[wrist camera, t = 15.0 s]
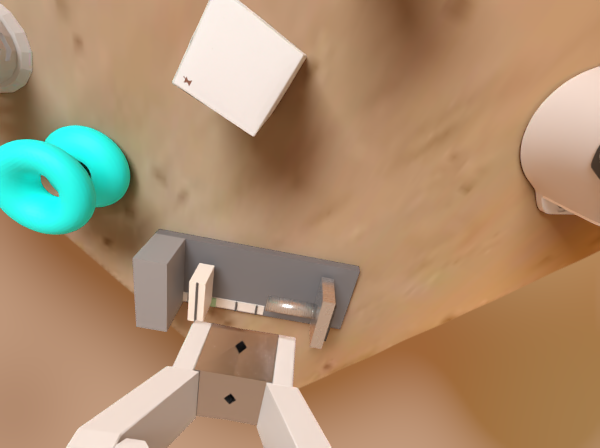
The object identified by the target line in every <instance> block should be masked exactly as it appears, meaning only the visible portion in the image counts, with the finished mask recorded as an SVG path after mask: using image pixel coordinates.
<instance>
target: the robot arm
mask: <svg viewBox="0 0 600 448" xmlns="http://www.w3.org/2000/svg"><path fill="white" fill-rule="evenodd" d="M521 165H522V169H523V171H524V174H525V176H526V177H527V179H528V180H529V182H530V183H531V184H532V186H533V187H534V189H535V191H536V202H537V206H538V208H539V210H540V211H542V212H545V213H547V214H569V215H577V216H579V217H581V218H583V219H585V220H587V221H589V222H591V223H593V224H595V225H598V226H600V66H598V67H596V68H593V69H591V70H588V71H585V72H583V73H581V74H579V75H577V76H575V77H574V78H572V79H570V80H569V81H567V82H566V83H564V84H563V85H561V86H560V87H559V88H558V89H556V90H555V91H554V92H553V93H552V94H551V95H550V96H549V97H548V98H547V99H546V100H545V101H544V102H543V103H542V104H541V106H540V107H539V108H538V109H537V111H536V112H535V114H534V115H533V117H532V118H531V120H530V122H529V124H528V126H527V128H526V131H525V133H524V136H523V140H522V145H521ZM295 347H296V339H295V337H289V336H283V335H277V334H271V333H265V332H259V331H253V330H247V329H246V330H245V329H240V328H235V327H230V326H225V325H220V324H215V323H208V322H203V321H198V320H195V321H194V323H193V324H192V326H191V328H190V330H189V332H188V334H187V337H186V339H185V341H184V343H183V345H182V348H181V349H180V352H179V354H178V356H177V358H176V360H175V363H174V365H173V367H170V366H167V367H165V368H164V369H162V370H161V371H159V372H158V373H157V374H155V375H154V376H152V377H151V378H149V379H148V380H147V381H145V382H144V383H142V384H141V385H139V386H138V387H137V388H135V389H134V390H132V391H131V392H130V393H128V394H127V395H125V396H124V397H122V398H121V399H120V400H118V401H117V402H115V403H114V404H112V405H111V406H110V407H108V408H107V409H106V410H104V411H102V412H101V413H100V414H98V415H97V416H95V417H94V418H92V419H91V420H90V421H88V422H87V423H85V424H84V425H82V426H81V427H80V428H79V429H78V430H77V431H76V433H75V434H74V436H73V438H72V439H71V441H70V442H69V444H68V445H67V447H66V448H167V447H168V446H169V445H170V444H171V443H172V442H173V441H174V440H175V439H176V438H177V437H178V436H179V435H180V434H181V433H182V431H184V430H185V428H186V427H187V426H188V425H189V424H190V423H191V422H192V421H193V420H194V419H195V418H196V416H202V417H210V418H217V419H226V420H231V421H237V422H242V423H247V424H252V425H257V429H258V432H259V435H260V438H261V441H262V444H263V447H264V448H332V447H331V445H330V444H329V442H328V440H327V439H326V437H325V435H324V433H323V432H322V430H321V428H320V426H319V424H318V423H317V421H316V419H315V417H314V415H313V414H312V412H311V410H310V408H309V407H308V405H307V403H306V401H305V399H304V398H303V396H302V394H301V392H300V391H299V389H298V388H296V387H293V377H294V362H295Z"/></svg>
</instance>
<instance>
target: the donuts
mask: <svg viewBox="0 0 600 448" xmlns="http://www.w3.org/2000/svg"><path fill="white" fill-rule="evenodd" d="M78 161H80V162H82V163H83V164H85V165H86V166H87V168H88V169H89V171H90V173H91V178H90V176H89V174H88V173H87V171H86V170H85V168H84V167H83V166H82V165H81V164H80V163H79V162H78ZM41 175H43V176H45V177H46V178H47V179H48V181H49V182H50V184H51V185H52V186H53V187H54V188H55V190H56V191H58V193H59V197H57V196H54V195H52V194H50V193H49V192H48V191H47V190H46V189H45V188H44V187H43V185H42V183H41ZM129 183H130V169H129V165H128V162H127V160H126V157H125V155H124V154H123V152H122V151H121V149H120V148H119V147H118V146H117V145H116V144H115V143H114V142H113V141H112V140H111V139H110V138H109V137H107V136H106V135H104V134H103V133H101V132H99V131H97V130H95V129H92V128H89V127H85V126H75V125H73V126H66V127H62V128H59V129H57V130H55V131H54V132H52V133H51V134H50V135H49V136H48V137H47V138H46V140H45V142H43V141H39V140H32V139H22V140H15V141H11V142H8V143H6V144H4V145H2V146H1V147H0V208H1V209H2V210H3V211H4V212H5V213H6V214H7V215H8V216H9V217H11V218H12V219H13V220H15V221H16V222H18V223H19V224H21V225H22V226H25V227H27V228H29V229H31V230H34V231H37V232H40V233H45V234H67V233H70V232H73V231H76V230H78V229H80V228H81V227H83V226H84V225H85V224H86V223H87V222H88V221H89V220H90V218H91V217H92V215H93V213H94V210H95V207H105V206H108V205H111V204H114V203H115V202H117V201H118V200H120V199H121V198H122V197H123V196H124V194H125V193H126V191H127V189H128V187H129Z"/></svg>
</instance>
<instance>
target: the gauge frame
mask: <svg viewBox="0 0 600 448" xmlns="http://www.w3.org/2000/svg"><path fill="white" fill-rule="evenodd" d="M199 263H203V264H208V265H214V278H213V289H212V301H211V304H210V307H217V308H223V309H229V310H234V311H240V312H246V313H251V314H255V315H256V314H257V315H263V316H268V317H274V318H280V319H285V320H291V321H297V322H302V323H308V324H310V319H311V318H305V317H299V316H294V315H288V314H282V313H277V312H271V311H265V307H266V302H267V297H268V295H269V296H275V297H280V298H286V299H291V300H297V301H302V302H308V303H313V304H315V301H316V297H317V294H318V290H319V287H320V283H321V279H322V277H325V278H330V279H334V288H335V295H336V306H337V308H336V311H335V314H334V317H333V321H332V324H331V328H336V329H340V328H341V325H342V322H343V319H344V316H345V314H346V311H347V308H348V305H349V302H350V299H351V296H352V293H353V290H354V287H355V284H356V281H357V278H358V276H359V273H360V269H359V266H354V265H349V264H344V263H338V262H333V261H328V260H322V259H317V258H312V257H306V256H301V255H296V254H290V253H285V252H280V251H274V250H269V249H264V248H258V247H253V246H248V245H242V244H237V243H231V242H226V241H221V240H215V239H210V238H205V237H199V236H194V235H189V234H183V233H178V232H173V231H167V230H162V229H159V230H158V231H157V232H156V233H155V234H154V235H153V236H152V237H151V238H150V240H149V241H148V242H147V243H146V244H145V245H144V246H143V247H142V248H141V249H140V250H139V252H138V253H137V254H136V255H135V256H134V257H133V275H134V293H135V311H136V327H142V328H148V329H153V330H160V331H165V332H167V330H168V328H169V327H170V325H171V323H172V321H173V319H174V317H175V316H176V314H177V312H178V310H179V308H180V306H181V305H182V303H183V302H187V303H188V300H189V281H190V279H191V277H192V276H193V274H194V272H195V270H196V269H197V267H198V265H199Z"/></svg>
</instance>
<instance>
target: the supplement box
mask: <svg viewBox="0 0 600 448" xmlns="http://www.w3.org/2000/svg"><path fill="white" fill-rule="evenodd" d="M306 57H307V55H306V54H305V53H303V52H302V51H301V50H300V49H298V48H297V47H296V46H294V45H293V44H292V43H291V42H289V41H288V40H287V39H286V38H285V37H283V36H282V35H281V34H280V33H279V32H277V31H276V30H275V29H274V28H273V27H271V26H270V25H269V24H268V23H266V22H265V21H264V20H263V19H262V18H260V17H259V16H258V15H257V14H255V13H254V12H253V11H251V10H250V9H249V8H248V7H246V6H245V5H244V4H243V3H241V2H240V1H239V0H209V2H208V4H207V6H206V8H205V11H204V13H203V15H202V17H201V19H200V22H199V24H198V26H197V28H196V31H195V32H194V34H193V36H192V38H191V40H190V43H189V46H188V48H187V50H186V53H185V55H184V57H183V59H182V61H181V64H180V66H179V68H178V70H177V72H176V75H175V77H174V78H173V81H172V83H173V84H174V85H175V86H177V87H178V88H180V89H181V90H183V91H185V92H186V93H188V94H189V95H191V96H192V97H194V98H195V99H197V100H198V101H200V102H201V103H203V104H204V105H206V106H208V107H209V108H211V109H212V110H214V111H215V112H217V113H218V114H220V115H221V116H223V117H224V118H226V119H227V120H229V121H230V122H232V123H233V124H235V125H236V126H238V127H239V128H241V129H242V130H244V131H245V132H247V133H248V134H250V135H251V136H253V137H254V136H255V135H256V134H257V132H258V131H259V130H260V128H261V127H262V126H263V125H264V123H265V122H266V121H267V120H268V118H269V117H270V116H271V114H272V113H273V111H274V110H275V108H276V106H277V105H278V103H279V102H280V100H281V99H282V97H283V95H284V94H285V92H286V91H287V89H288V87H289V86H290V84H291V82H292V81H293V79H294V78H295V76H296V74H297V72H298V71H299V69H300V67H301V66H302V64H303V62H304V61H305V59H306Z"/></svg>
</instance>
